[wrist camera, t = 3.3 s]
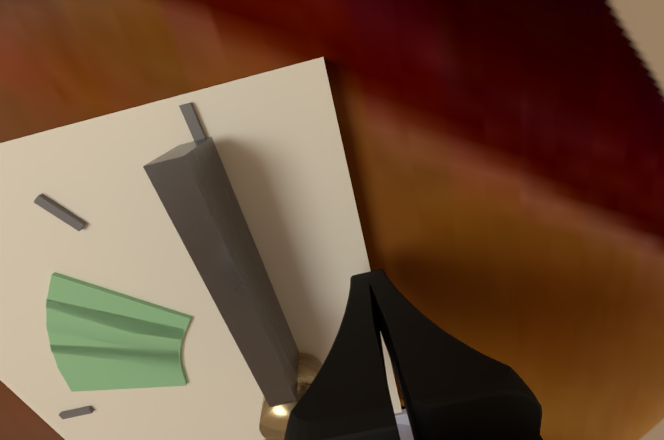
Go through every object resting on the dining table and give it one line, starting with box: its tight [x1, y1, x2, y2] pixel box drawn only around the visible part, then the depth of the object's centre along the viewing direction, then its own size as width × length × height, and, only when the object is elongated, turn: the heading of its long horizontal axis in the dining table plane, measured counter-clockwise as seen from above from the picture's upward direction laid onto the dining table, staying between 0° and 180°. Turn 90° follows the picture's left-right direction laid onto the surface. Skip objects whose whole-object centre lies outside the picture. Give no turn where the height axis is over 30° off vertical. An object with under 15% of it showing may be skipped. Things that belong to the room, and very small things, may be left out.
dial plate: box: [0, 57, 402, 440], centre depth 16 cm, size 20×20×1 cm
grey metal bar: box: [143, 137, 323, 440], centre depth 13 cm, size 14×3×3 cm, turn 13°
